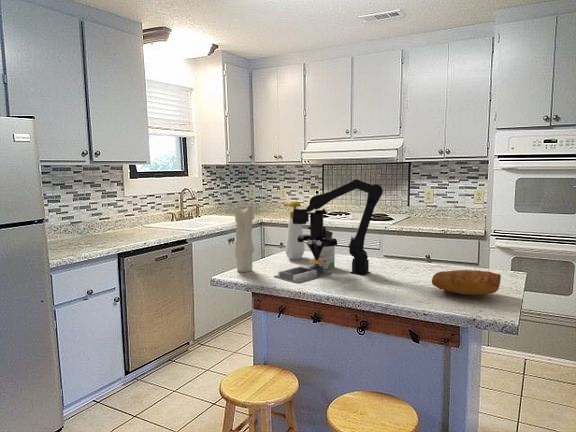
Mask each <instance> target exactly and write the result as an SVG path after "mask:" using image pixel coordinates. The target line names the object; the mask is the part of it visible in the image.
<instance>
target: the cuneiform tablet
mask: <svg viewBox="0 0 576 432" xmlns="http://www.w3.org/2000/svg"><path fill="white" fill-rule="evenodd" d="M501 278H502V276H501V273H497V272H496V273H495V272H492V271H487V270H486V271H483V270H475V269H474V270H471V269H469V270H468V269H457V270H456V269H455V270H447V271H445V270H443V271H438V272H436V273H435V274H434V275H433V276H432V279H431V284H432V285H433V287H436V288H438V289H440V290H442V291H445V292H446V291H447V292H451V293H454V294H458V295H459V294H460V295H466V296H467V295H468V296H478V295H484V296H485V295H490V294H494V293H496V292H498V290H499V288H500V284H501V280H502V279H501Z"/></svg>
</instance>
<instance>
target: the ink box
mask: <svg viewBox="0 0 576 432" xmlns="http://www.w3.org/2000/svg"><path fill="white" fill-rule="evenodd" d="M335 246H336V245H335ZM335 246H330V247H327V246H324V247H323V249H322V251H321V254H320V256H319V259H323V260H324V262H323V263H319V266H323V270H326V269H332V268H335V263H336V262H335V261H336V260H335V258H336V257H335V254H336V253H335V252H336V251H335V249H336V248H335ZM313 259H315V258H314V257H313ZM313 266H315V263H313Z"/></svg>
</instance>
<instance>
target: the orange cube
mask: <svg viewBox="0 0 576 432" xmlns="http://www.w3.org/2000/svg"><path fill="white" fill-rule="evenodd" d="M323 262H324V260H323V259H318V260H315V259H314V258H312V259H309V263H311V264H314V263H315V267H316V268H318V267H319V263H323Z"/></svg>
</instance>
